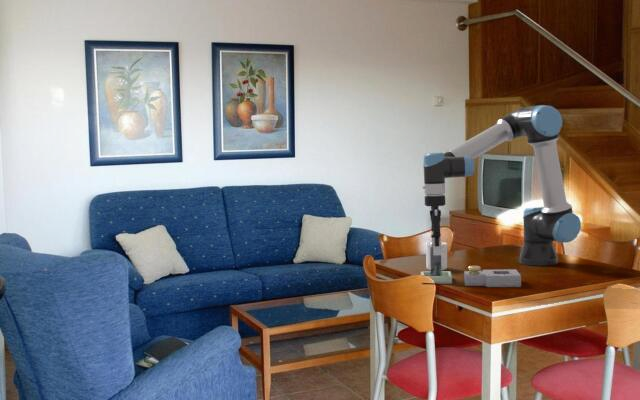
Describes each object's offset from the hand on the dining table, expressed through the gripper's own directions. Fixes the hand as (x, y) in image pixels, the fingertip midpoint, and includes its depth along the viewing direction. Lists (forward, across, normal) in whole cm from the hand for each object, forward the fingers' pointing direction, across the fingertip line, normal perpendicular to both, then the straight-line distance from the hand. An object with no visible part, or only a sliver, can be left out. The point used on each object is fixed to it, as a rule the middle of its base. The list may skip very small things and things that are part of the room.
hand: (436, 252), depth 282 cm
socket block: (+11, +6, +19) cm, 23 cm away
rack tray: (+11, 0, 0) cm, 11 cm away
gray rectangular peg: (+10, 0, 0) cm, 10 cm away
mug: (+11, -23, +1) cm, 25 cm away
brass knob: (+10, +6, +13) cm, 18 cm away
